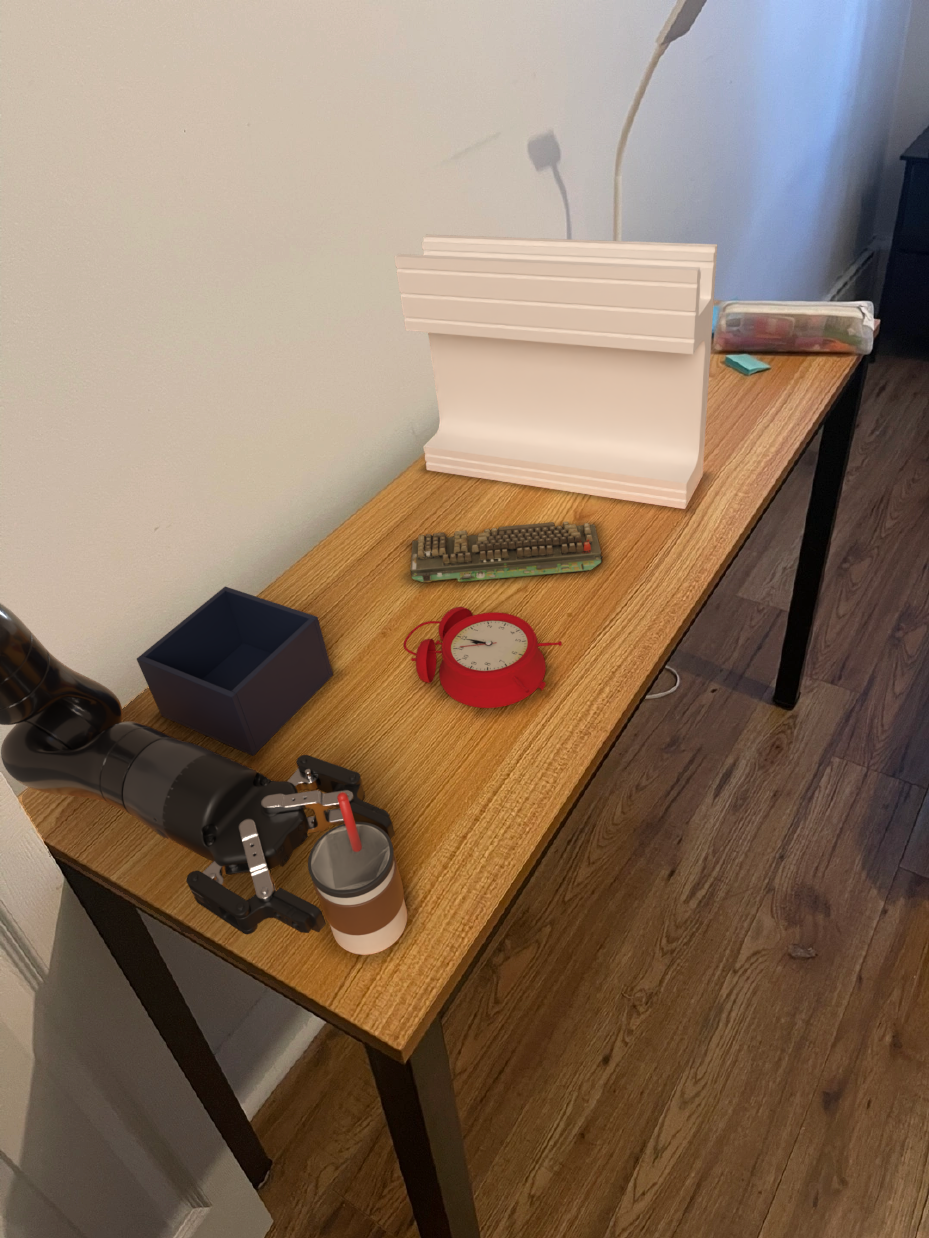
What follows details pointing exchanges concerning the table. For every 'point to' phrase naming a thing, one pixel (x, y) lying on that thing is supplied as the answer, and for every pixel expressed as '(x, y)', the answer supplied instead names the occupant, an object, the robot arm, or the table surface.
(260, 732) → the bin
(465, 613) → the alarm clock
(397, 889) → the paper cup
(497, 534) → the keyboard
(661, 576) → the table surface
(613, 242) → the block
